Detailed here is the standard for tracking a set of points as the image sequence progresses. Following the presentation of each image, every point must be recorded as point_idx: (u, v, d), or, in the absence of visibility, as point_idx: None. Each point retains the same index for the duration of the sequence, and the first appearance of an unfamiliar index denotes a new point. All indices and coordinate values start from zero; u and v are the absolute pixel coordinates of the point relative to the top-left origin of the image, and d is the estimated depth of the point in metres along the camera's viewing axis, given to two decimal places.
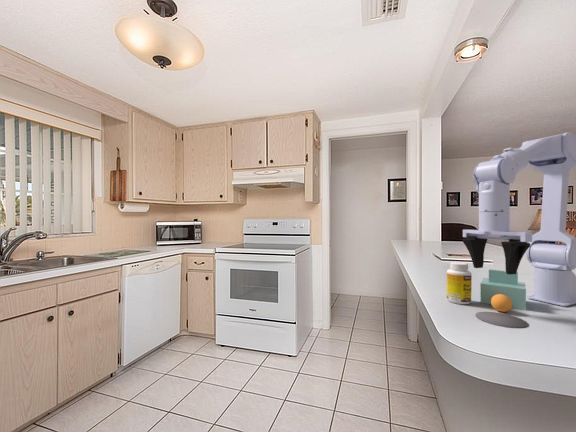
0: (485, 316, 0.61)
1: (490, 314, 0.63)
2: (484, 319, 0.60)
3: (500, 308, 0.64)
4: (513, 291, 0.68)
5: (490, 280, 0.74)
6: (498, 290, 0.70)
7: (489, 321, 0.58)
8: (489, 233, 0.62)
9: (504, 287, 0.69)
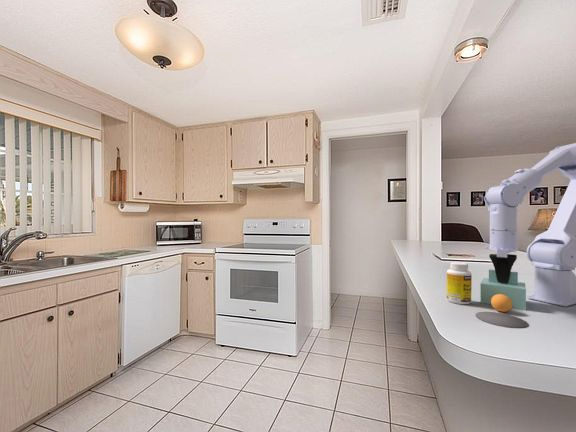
0: (485, 316, 0.61)
1: (490, 314, 0.63)
2: (484, 319, 0.60)
3: (500, 308, 0.64)
4: (513, 291, 0.68)
5: (490, 280, 0.74)
6: (498, 290, 0.70)
7: (489, 321, 0.58)
8: (489, 248, 0.74)
9: (504, 287, 0.69)
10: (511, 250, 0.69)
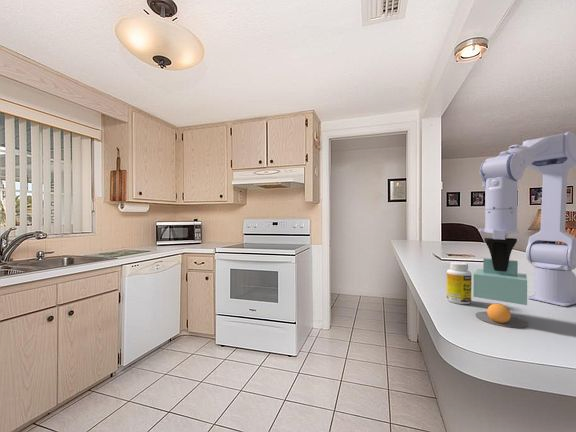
0: (485, 316, 0.61)
1: None
2: (484, 319, 0.60)
3: (497, 305, 0.58)
4: (512, 283, 0.57)
5: (485, 271, 0.63)
6: (494, 282, 0.59)
7: (489, 321, 0.58)
8: (484, 230, 0.63)
9: (501, 278, 0.58)
10: (510, 231, 0.57)
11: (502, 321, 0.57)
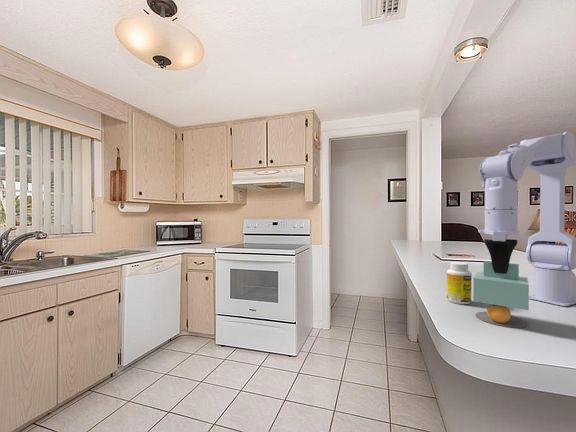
0: (485, 316, 0.61)
1: None
2: (484, 319, 0.60)
3: (497, 305, 0.58)
4: (513, 287, 0.55)
5: (485, 274, 0.61)
6: (495, 286, 0.57)
7: (489, 321, 0.58)
8: (484, 232, 0.61)
9: (502, 282, 0.56)
10: (510, 233, 0.56)
11: (502, 321, 0.57)
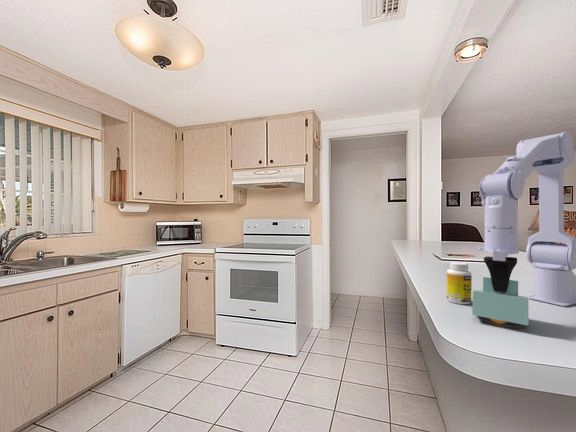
0: None
1: None
2: (484, 319, 0.60)
3: None
4: (513, 301, 0.55)
5: (485, 289, 0.61)
6: (494, 299, 0.57)
7: (489, 321, 0.58)
8: (483, 249, 0.61)
9: (501, 296, 0.56)
10: (510, 252, 0.56)
11: (502, 323, 0.57)
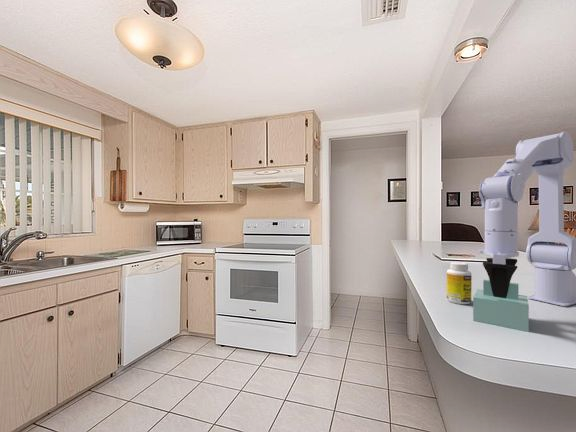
0: None
1: None
2: None
3: None
4: (513, 308, 0.55)
5: (485, 293, 0.61)
6: (494, 306, 0.57)
7: None
8: (484, 252, 0.61)
9: (502, 302, 0.56)
10: (510, 255, 0.56)
11: None
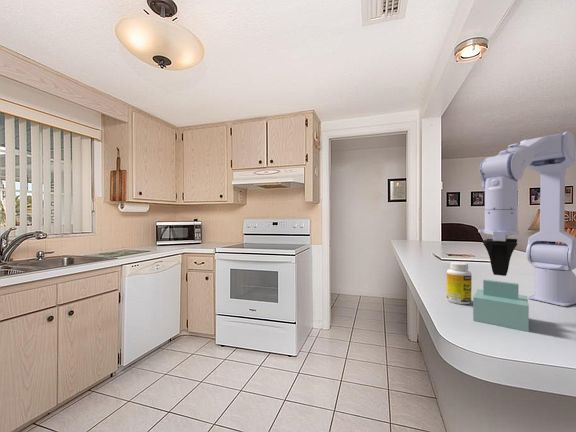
0: None
1: None
2: None
3: None
4: (513, 308, 0.55)
5: (485, 293, 0.61)
6: (494, 306, 0.57)
7: None
8: (484, 232, 0.61)
9: (502, 302, 0.56)
10: (510, 233, 0.56)
11: None
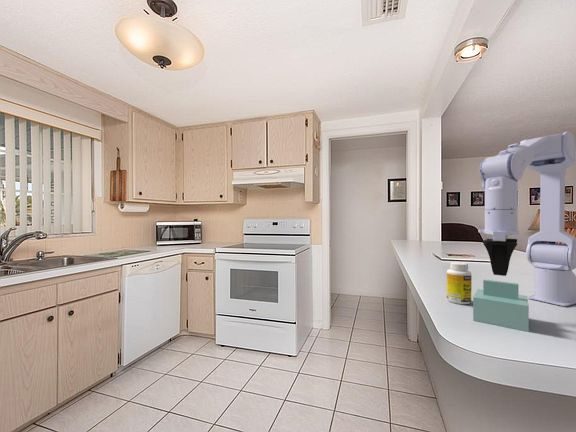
0: None
1: None
2: None
3: None
4: (513, 308, 0.55)
5: (485, 293, 0.61)
6: (494, 306, 0.57)
7: None
8: (484, 232, 0.61)
9: (502, 302, 0.56)
10: (510, 233, 0.56)
11: None
